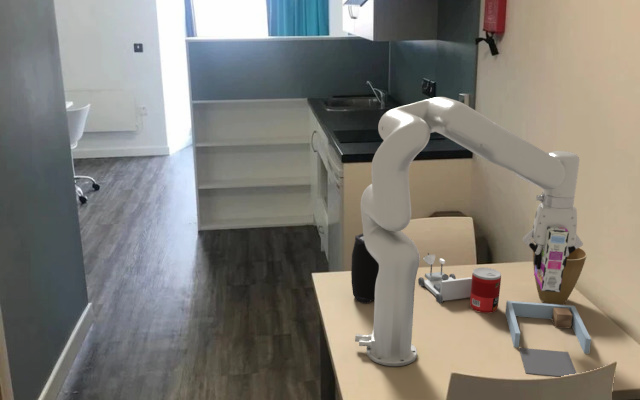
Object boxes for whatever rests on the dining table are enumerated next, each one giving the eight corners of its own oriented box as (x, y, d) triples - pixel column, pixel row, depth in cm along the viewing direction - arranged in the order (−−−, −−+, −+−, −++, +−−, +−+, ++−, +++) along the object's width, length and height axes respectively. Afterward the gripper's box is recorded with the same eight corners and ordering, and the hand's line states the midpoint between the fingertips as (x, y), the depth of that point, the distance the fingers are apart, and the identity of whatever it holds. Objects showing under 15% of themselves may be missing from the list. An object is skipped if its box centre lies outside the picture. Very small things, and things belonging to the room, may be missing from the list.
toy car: (415, 252, 204) (449, 249, 207) (414, 281, 207) (447, 277, 210) (442, 274, 188) (478, 270, 191) (439, 305, 191) (475, 301, 194)
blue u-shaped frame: (513, 347, 167) (515, 332, 166) (505, 313, 185) (506, 300, 184) (589, 353, 164) (591, 339, 163) (572, 318, 183) (574, 305, 181)
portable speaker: (386, 302, 191) (389, 240, 185) (355, 306, 189) (357, 242, 183) (376, 290, 199) (378, 230, 193) (347, 293, 197) (348, 232, 191)
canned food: (498, 314, 184) (502, 279, 181) (469, 312, 186) (472, 276, 183) (497, 303, 192) (500, 268, 188) (469, 300, 193) (472, 266, 190)
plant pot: (551, 314, 185) (558, 262, 180) (516, 294, 198) (522, 244, 193) (591, 306, 191) (598, 255, 186) (554, 286, 204) (560, 238, 199)
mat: (525, 373, 155) (525, 372, 155) (519, 348, 166) (519, 347, 166) (578, 378, 153) (578, 377, 153) (568, 352, 165) (568, 351, 165)
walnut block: (555, 327, 178) (557, 314, 177) (551, 320, 182) (553, 307, 180) (570, 328, 177) (572, 315, 176) (566, 321, 181) (568, 308, 180)
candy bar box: (561, 293, 164) (570, 231, 159) (541, 291, 165) (548, 230, 160) (552, 275, 175) (560, 217, 170) (533, 274, 175) (540, 216, 171)
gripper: (524, 203, 161) (517, 271, 166) (597, 207, 158) (586, 276, 164) (520, 194, 168) (513, 260, 173) (589, 198, 166) (579, 265, 171)
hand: (549, 267), depth 168 cm, fingers closed on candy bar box, 5 cm apart
